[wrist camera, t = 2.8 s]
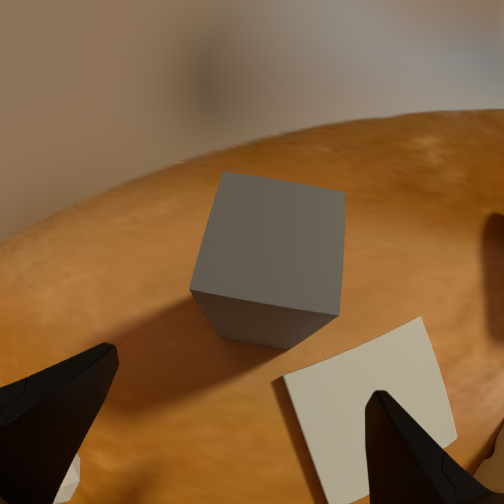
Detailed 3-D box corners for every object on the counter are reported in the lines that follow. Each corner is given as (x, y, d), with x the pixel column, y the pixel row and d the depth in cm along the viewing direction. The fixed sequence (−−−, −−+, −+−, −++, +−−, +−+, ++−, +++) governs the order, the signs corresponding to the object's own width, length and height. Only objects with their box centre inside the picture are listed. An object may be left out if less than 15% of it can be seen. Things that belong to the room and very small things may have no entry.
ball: (60, 431, 18) (3, 377, 14) (116, 468, 15) (47, 418, 11) (26, 484, 12) (-39, 438, 8) (78, 534, 9) (-5, 499, 5)
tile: (328, 507, 15) (331, 511, 14) (282, 375, 19) (283, 375, 19) (452, 437, 16) (457, 437, 16) (415, 318, 21) (420, 315, 20)
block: (288, 350, 20) (338, 315, 9) (220, 338, 20) (189, 289, 9) (298, 285, 22) (345, 192, 11) (233, 274, 22) (223, 171, 12)
